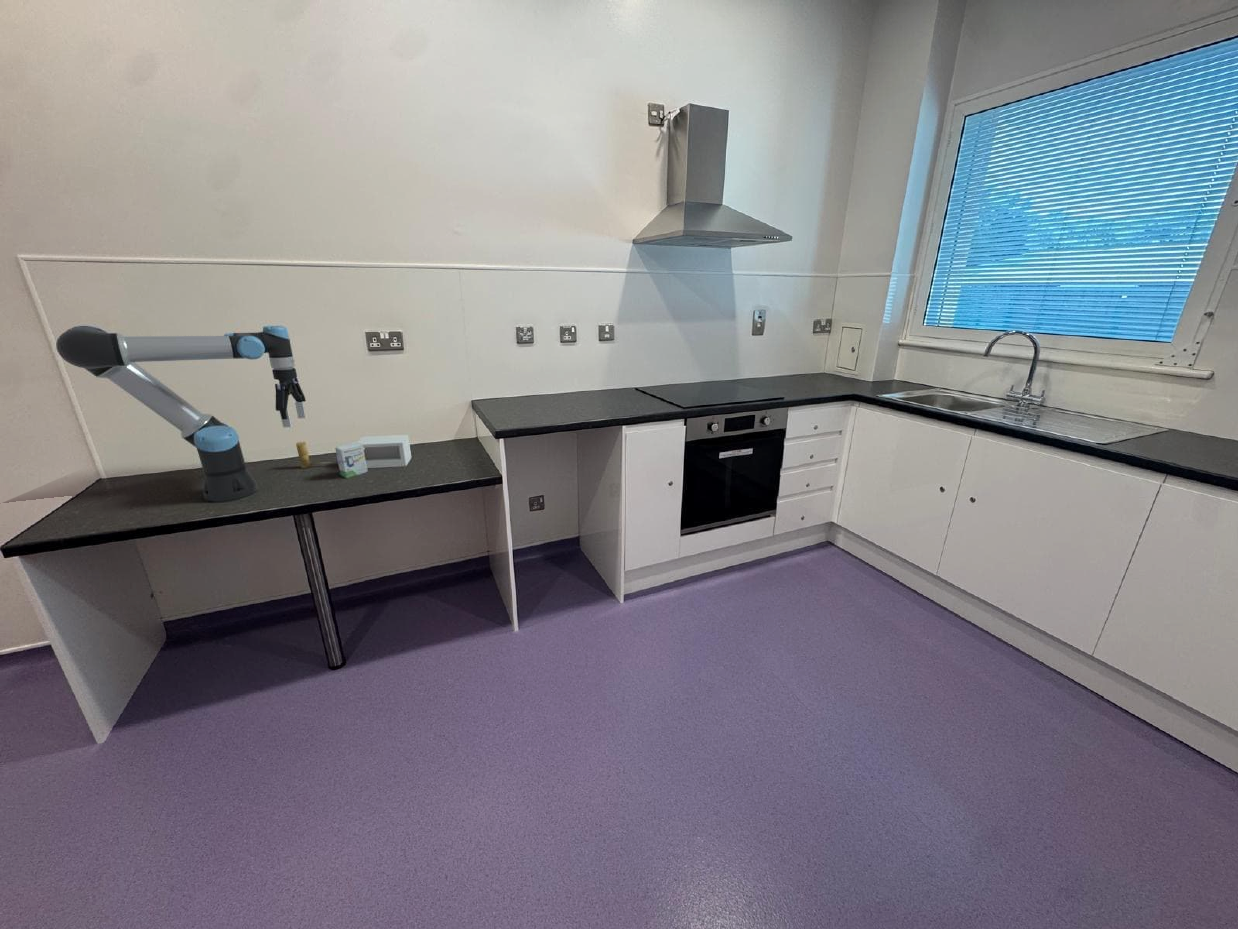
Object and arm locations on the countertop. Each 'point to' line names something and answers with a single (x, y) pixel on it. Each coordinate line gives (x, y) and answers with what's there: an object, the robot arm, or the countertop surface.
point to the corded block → (306, 456)
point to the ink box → (351, 459)
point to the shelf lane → (386, 450)
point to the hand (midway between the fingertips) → (295, 422)
